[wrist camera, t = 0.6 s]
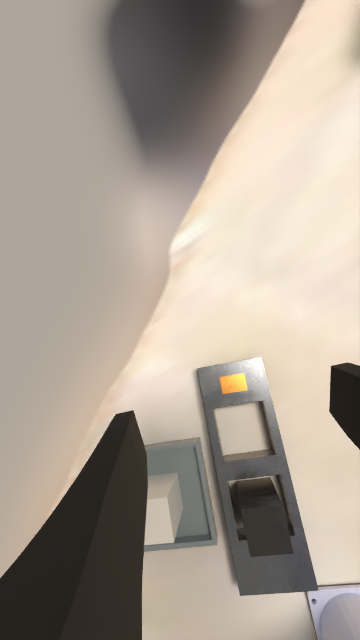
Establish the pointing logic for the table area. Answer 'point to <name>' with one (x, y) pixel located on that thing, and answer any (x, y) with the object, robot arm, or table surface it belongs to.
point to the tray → (186, 491)
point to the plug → (162, 508)
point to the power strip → (257, 489)
